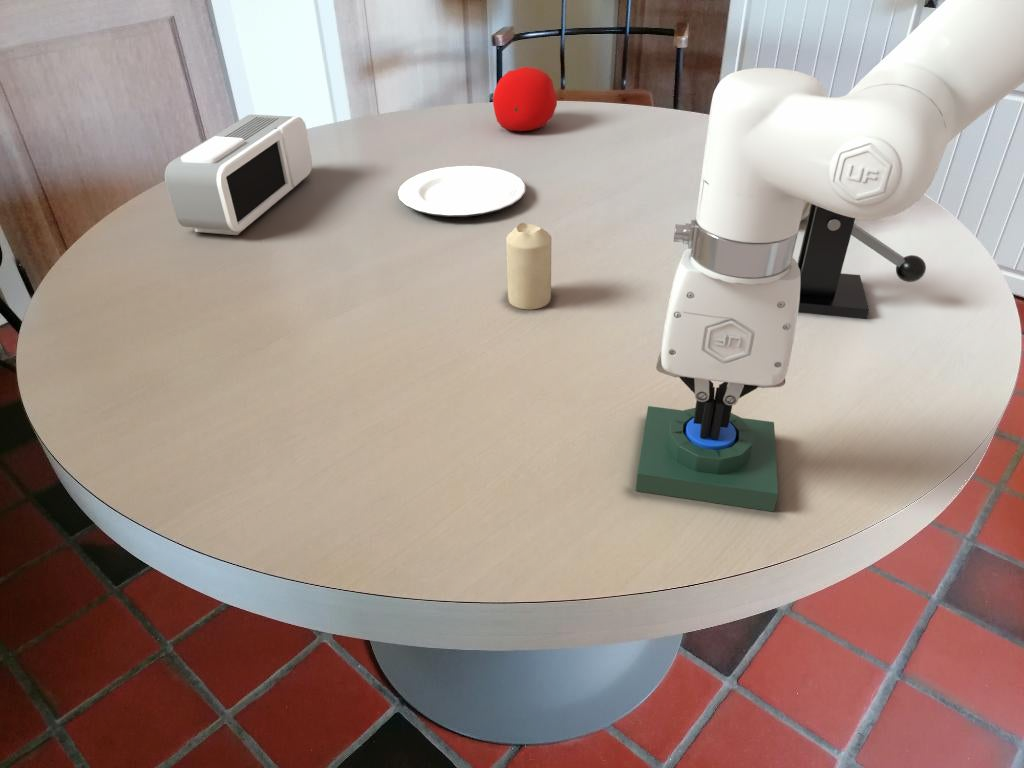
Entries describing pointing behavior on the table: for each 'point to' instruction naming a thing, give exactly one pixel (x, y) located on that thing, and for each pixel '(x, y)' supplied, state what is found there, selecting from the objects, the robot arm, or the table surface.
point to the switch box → (708, 462)
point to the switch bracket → (828, 267)
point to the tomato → (524, 99)
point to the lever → (893, 256)
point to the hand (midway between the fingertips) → (709, 429)
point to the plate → (461, 191)
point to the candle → (529, 266)
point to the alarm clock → (238, 173)
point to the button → (723, 441)
